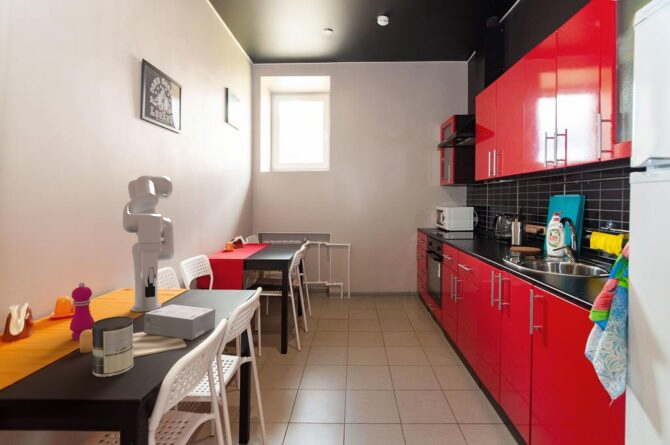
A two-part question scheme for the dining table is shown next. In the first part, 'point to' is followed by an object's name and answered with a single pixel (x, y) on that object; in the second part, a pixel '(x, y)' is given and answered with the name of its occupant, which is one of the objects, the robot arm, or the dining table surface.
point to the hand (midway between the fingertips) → (150, 296)
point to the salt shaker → (86, 341)
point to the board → (154, 343)
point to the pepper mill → (81, 311)
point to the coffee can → (112, 345)
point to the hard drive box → (179, 321)
